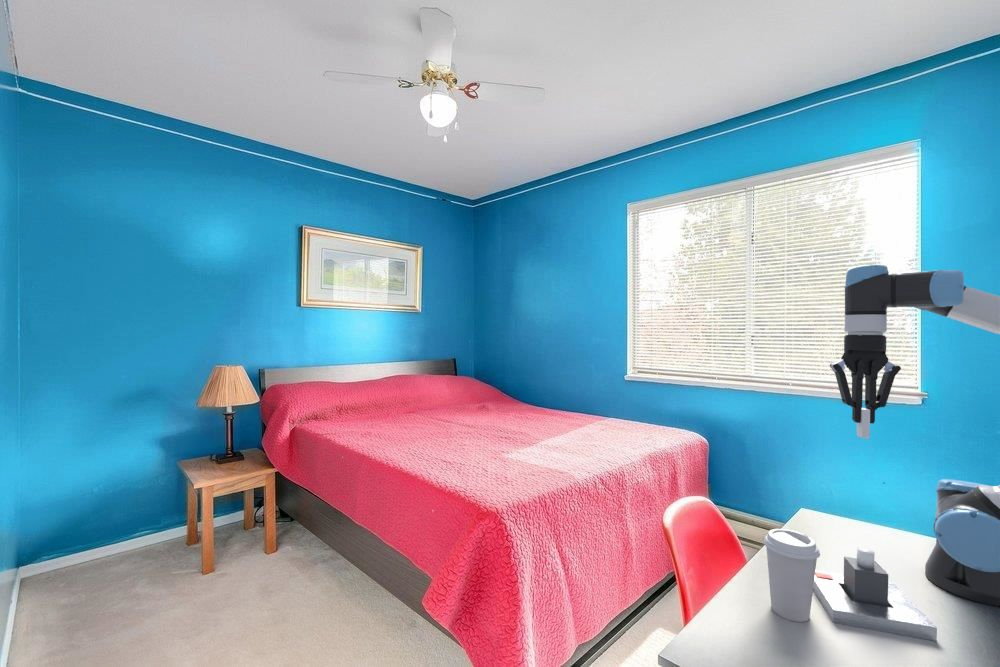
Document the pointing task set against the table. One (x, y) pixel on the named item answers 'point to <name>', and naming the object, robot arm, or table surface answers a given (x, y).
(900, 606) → the socket plate
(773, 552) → the coffee cup
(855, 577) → the plug
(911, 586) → the table surface
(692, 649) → the table surface
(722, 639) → the table surface
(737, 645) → the table surface
